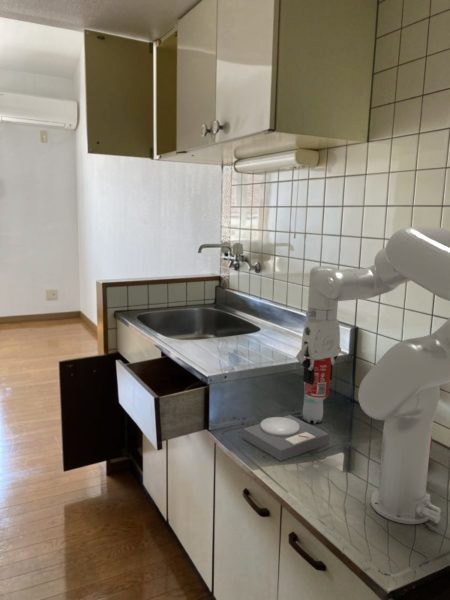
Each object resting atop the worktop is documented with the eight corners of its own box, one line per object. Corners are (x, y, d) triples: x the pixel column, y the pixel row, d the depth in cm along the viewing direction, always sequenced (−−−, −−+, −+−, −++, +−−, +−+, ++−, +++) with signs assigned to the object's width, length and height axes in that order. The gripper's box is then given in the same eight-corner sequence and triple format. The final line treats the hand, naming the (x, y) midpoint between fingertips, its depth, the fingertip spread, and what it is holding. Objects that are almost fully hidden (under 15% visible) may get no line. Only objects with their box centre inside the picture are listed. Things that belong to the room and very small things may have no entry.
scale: (328, 443, 134) (329, 430, 134) (280, 461, 124) (281, 446, 123) (289, 424, 147) (289, 411, 146) (243, 438, 137) (243, 425, 136)
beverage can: (327, 393, 130) (330, 350, 128) (329, 402, 124) (332, 357, 122) (303, 391, 131) (306, 349, 128) (305, 400, 124) (307, 356, 122)
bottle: (317, 426, 145) (320, 363, 142) (297, 421, 149) (300, 359, 146) (326, 420, 151) (330, 358, 148) (307, 414, 155) (310, 354, 152)
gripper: (308, 320, 115) (303, 391, 119) (355, 314, 125) (350, 379, 128) (287, 314, 121) (283, 382, 125) (334, 308, 131) (329, 371, 134)
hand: (317, 380), depth 126 cm, fingers closed on beverage can, 6 cm apart
